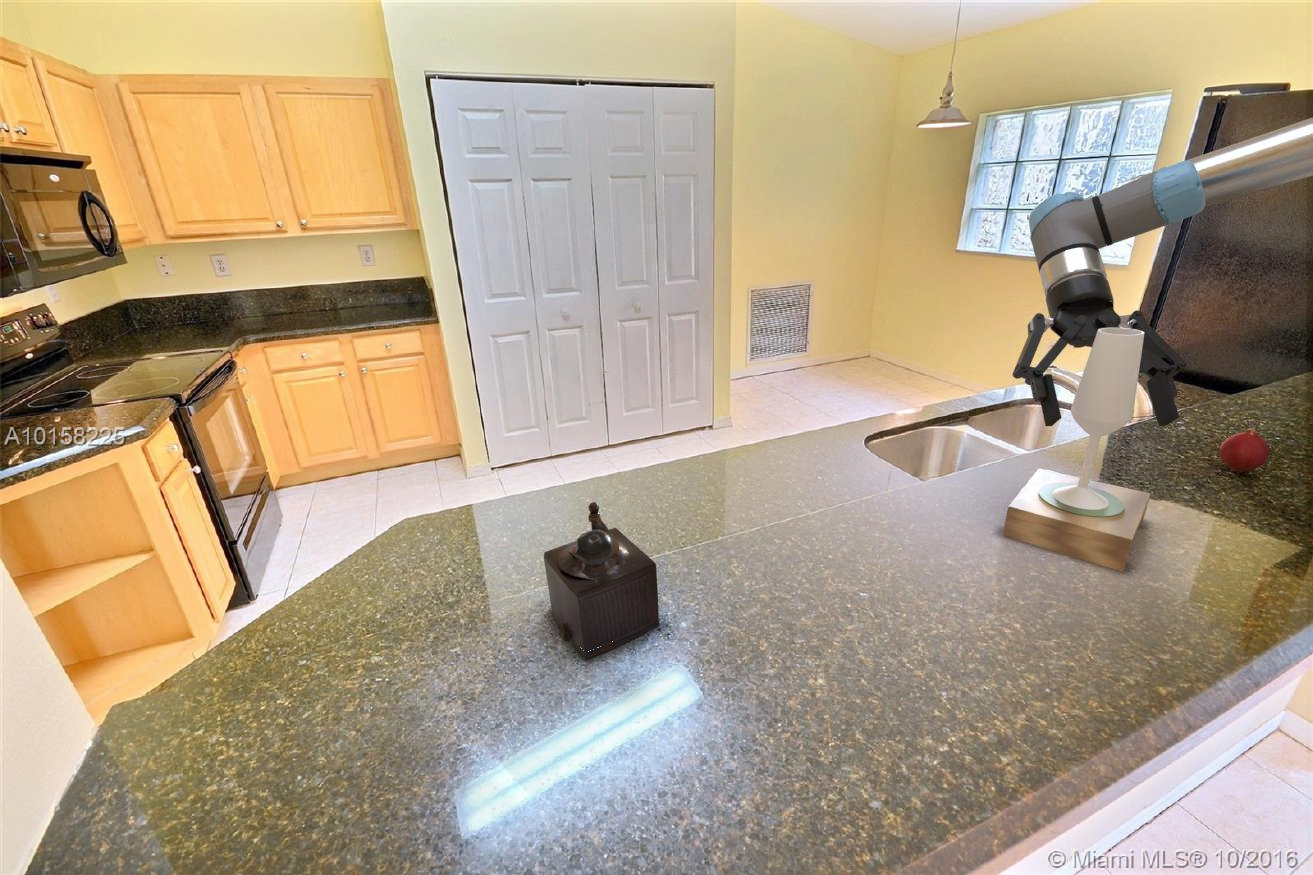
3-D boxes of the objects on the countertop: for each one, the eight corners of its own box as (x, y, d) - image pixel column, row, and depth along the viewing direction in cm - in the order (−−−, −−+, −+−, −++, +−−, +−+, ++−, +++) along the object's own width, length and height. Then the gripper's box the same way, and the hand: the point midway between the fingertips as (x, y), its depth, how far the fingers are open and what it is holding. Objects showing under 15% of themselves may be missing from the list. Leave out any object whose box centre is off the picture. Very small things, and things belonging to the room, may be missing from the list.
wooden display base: (1142, 523, 85) (1151, 492, 83) (1122, 573, 74) (1132, 538, 72) (1033, 495, 94) (1039, 467, 92) (1002, 536, 84) (1008, 504, 82)
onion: (1215, 462, 101) (1229, 419, 98) (1261, 471, 97) (1277, 426, 94) (1212, 473, 98) (1226, 429, 95) (1260, 483, 94) (1276, 437, 91)
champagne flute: (1117, 499, 81) (1163, 330, 72) (1096, 514, 78) (1142, 339, 69) (1064, 483, 87) (1101, 324, 78) (1043, 497, 83) (1078, 332, 74)
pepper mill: (545, 616, 73) (524, 490, 66) (621, 584, 78) (609, 464, 72) (600, 695, 61) (581, 549, 54) (686, 651, 66) (679, 513, 59)
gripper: (1155, 301, 85) (1198, 433, 77) (974, 307, 89) (996, 433, 81) (1191, 267, 78) (1242, 408, 70) (992, 275, 82) (1019, 410, 74)
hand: (1110, 422), depth 75 cm, fingers open, 13 cm apart
